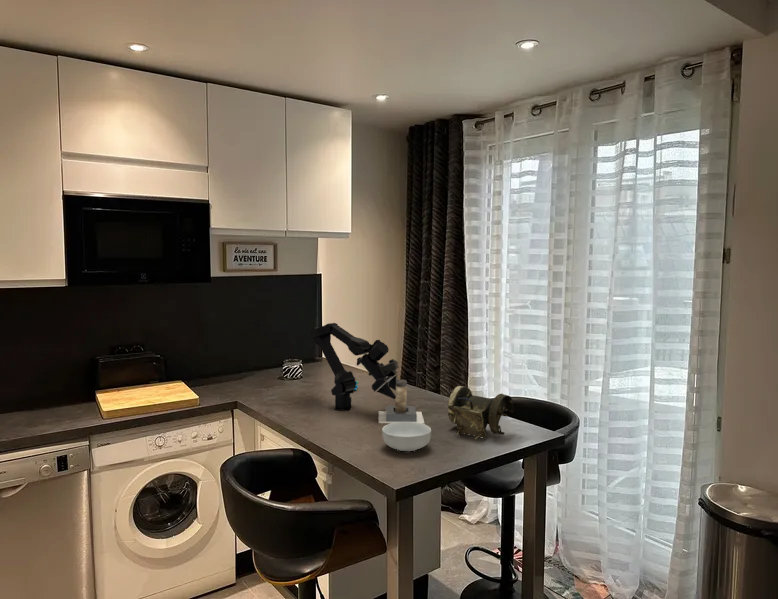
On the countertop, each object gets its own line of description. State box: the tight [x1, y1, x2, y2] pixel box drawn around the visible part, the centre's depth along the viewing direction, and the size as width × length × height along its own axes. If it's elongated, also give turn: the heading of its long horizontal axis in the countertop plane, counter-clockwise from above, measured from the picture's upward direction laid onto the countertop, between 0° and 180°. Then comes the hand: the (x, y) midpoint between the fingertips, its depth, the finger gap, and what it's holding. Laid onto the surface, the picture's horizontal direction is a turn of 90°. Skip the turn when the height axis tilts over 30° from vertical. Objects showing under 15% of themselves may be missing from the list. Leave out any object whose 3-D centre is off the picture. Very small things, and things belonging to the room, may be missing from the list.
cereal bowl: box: [381, 422, 432, 452], centre depth 190 cm, size 17×17×7 cm
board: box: [378, 410, 426, 425], centre depth 225 cm, size 18×16×1 cm
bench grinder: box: [447, 385, 515, 440], centre depth 206 cm, size 20×22×20 cm
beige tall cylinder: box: [394, 379, 408, 412], centre depth 224 cm, size 4×4×15 cm
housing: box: [385, 405, 417, 422], centre depth 224 cm, size 12×12×3 cm
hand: (398, 395), depth 224 cm, fingers open, 9 cm apart
